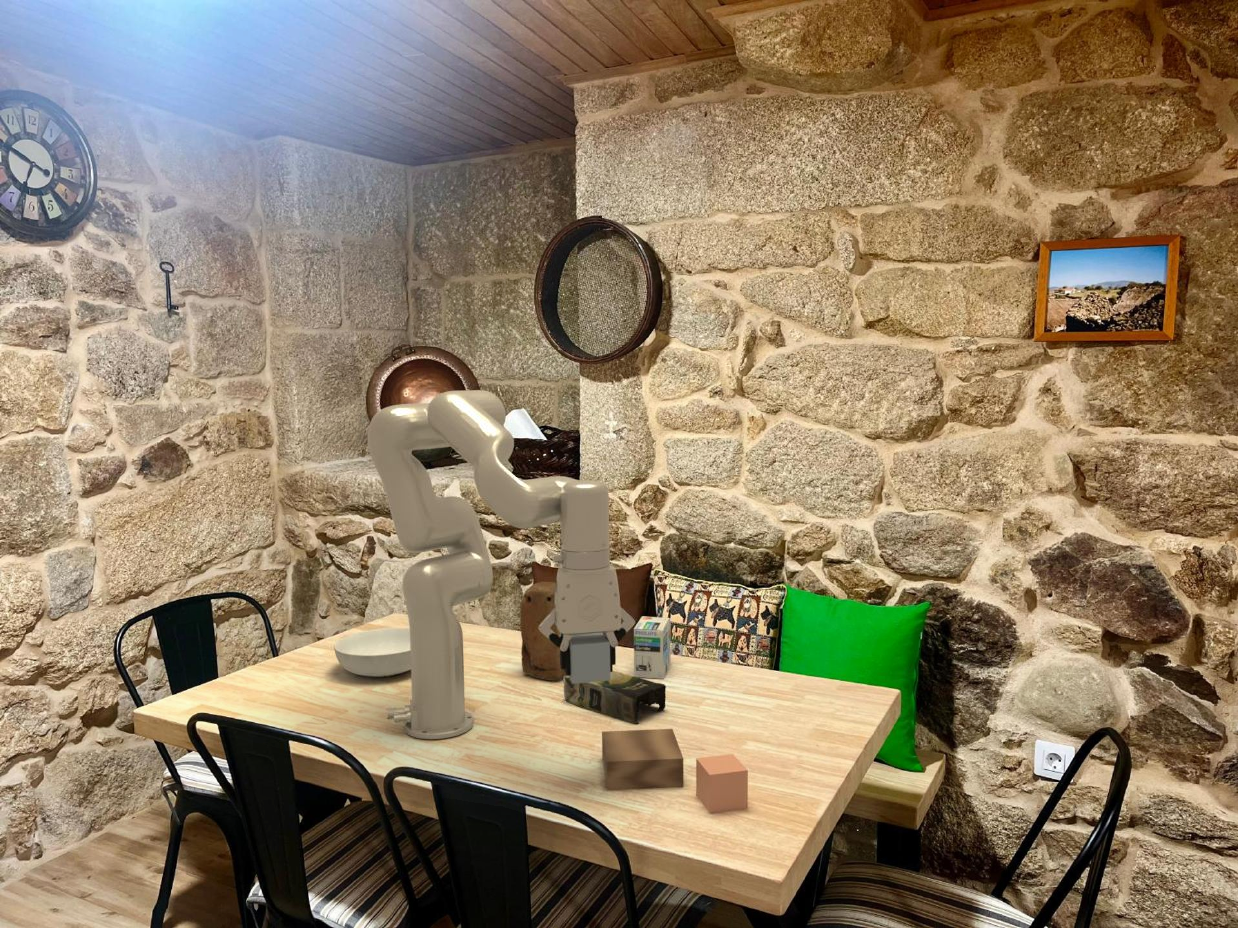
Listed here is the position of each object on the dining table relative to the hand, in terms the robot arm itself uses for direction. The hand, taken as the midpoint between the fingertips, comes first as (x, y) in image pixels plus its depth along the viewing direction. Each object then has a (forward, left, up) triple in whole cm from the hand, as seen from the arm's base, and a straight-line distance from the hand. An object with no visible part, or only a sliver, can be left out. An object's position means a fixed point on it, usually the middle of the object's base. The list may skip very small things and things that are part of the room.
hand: (588, 670), depth 142 cm
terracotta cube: (+18, -13, -18) cm, 28 cm away
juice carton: (+11, +30, -19) cm, 37 cm away
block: (+2, +51, -18) cm, 54 cm away
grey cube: (0, 0, -1) cm, 1 cm away
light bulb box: (+25, +48, -18) cm, 57 cm away
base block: (+9, 0, -18) cm, 20 cm away
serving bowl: (-32, +64, -18) cm, 74 cm away
